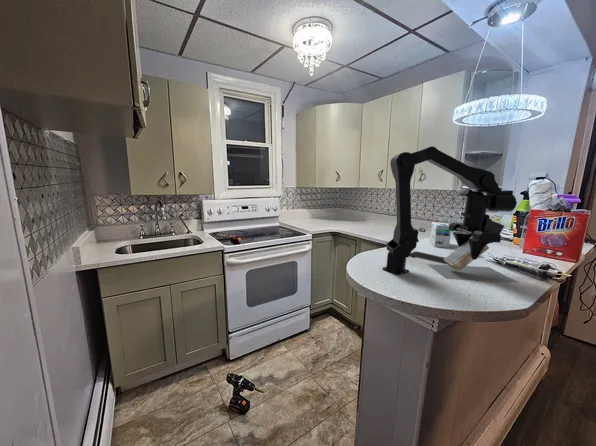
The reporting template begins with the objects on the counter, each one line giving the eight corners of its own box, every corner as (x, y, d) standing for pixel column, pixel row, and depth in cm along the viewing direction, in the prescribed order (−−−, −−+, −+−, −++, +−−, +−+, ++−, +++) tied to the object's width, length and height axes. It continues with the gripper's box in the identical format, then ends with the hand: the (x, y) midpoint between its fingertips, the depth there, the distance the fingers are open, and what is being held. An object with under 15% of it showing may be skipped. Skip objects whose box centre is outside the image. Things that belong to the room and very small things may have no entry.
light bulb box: (449, 248, 119) (452, 226, 117) (433, 247, 121) (436, 225, 119) (443, 243, 129) (445, 222, 127) (428, 242, 131) (431, 221, 129)
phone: (415, 251, 109) (454, 259, 99) (415, 253, 110) (453, 262, 99) (407, 254, 104) (448, 263, 93) (407, 257, 104) (447, 266, 93)
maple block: (452, 264, 82) (483, 241, 80) (442, 259, 88) (471, 236, 86) (458, 271, 82) (489, 248, 80) (448, 265, 88) (477, 243, 86)
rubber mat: (446, 279, 80) (446, 278, 80) (427, 265, 93) (427, 264, 93) (519, 283, 78) (519, 282, 78) (488, 268, 92) (489, 267, 92)
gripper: (524, 215, 71) (515, 267, 74) (482, 208, 90) (476, 250, 92) (484, 214, 72) (476, 265, 75) (450, 207, 91) (445, 248, 93)
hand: (468, 256), depth 84 cm, fingers closed on maple block, 6 cm apart
